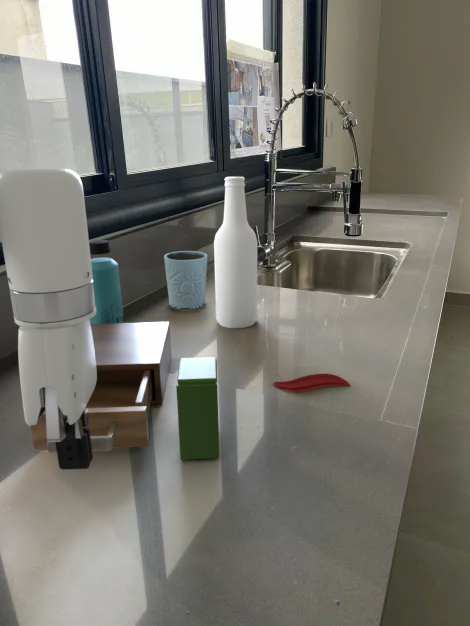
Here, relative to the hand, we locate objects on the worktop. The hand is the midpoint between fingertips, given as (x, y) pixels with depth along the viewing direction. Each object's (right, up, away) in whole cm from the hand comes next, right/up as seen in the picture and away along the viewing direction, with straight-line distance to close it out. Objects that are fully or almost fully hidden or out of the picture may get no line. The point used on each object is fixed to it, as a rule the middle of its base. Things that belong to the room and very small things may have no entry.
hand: (76, 464), depth 53 cm
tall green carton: (+13, 0, +9) cm, 16 cm away
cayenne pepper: (+29, +5, +24) cm, 38 cm away
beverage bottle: (-7, +10, +41) cm, 43 cm away
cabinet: (-1, +5, +26) cm, 27 cm away
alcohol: (+17, +14, +53) cm, 57 cm away
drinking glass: (+6, +18, +66) cm, 68 cm away
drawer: (-1, +2, +12) cm, 12 cm away
